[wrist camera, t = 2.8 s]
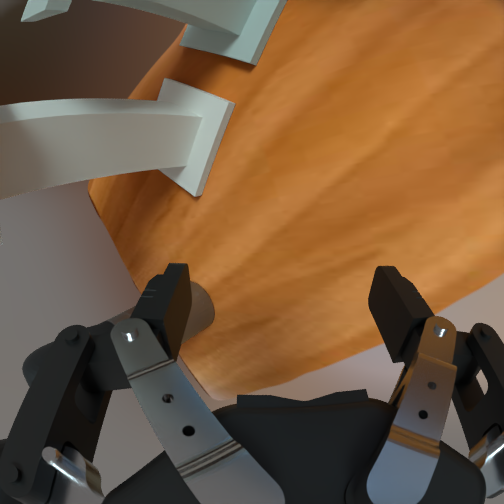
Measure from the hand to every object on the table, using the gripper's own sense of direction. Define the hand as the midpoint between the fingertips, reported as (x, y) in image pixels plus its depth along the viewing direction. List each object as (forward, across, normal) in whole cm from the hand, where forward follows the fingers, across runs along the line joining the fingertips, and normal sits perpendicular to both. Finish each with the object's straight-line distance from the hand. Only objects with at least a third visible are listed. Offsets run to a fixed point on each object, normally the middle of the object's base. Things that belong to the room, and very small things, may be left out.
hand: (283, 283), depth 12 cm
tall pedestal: (+36, +12, -4) cm, 38 cm away
